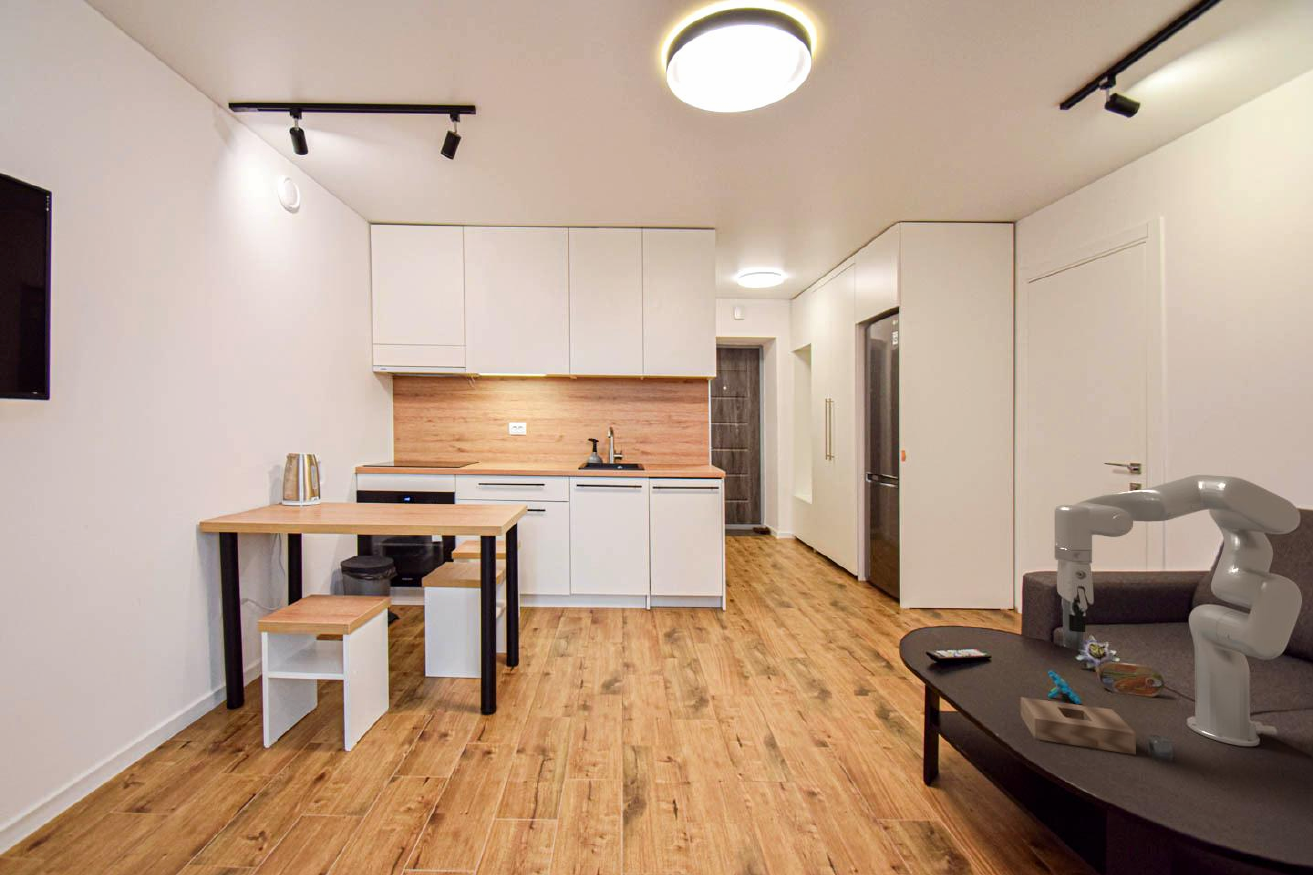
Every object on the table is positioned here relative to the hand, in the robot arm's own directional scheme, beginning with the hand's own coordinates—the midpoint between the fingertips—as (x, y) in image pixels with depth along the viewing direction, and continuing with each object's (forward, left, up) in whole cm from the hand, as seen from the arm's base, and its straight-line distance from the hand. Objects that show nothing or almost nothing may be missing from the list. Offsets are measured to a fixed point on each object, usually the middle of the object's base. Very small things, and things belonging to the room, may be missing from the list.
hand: (1073, 627), depth 136 cm
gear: (-4, -21, -27) cm, 35 cm away
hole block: (0, 0, -26) cm, 26 cm away
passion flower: (-22, -51, -27) cm, 62 cm away
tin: (-24, -33, -27) cm, 49 cm away
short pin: (-15, +5, -27) cm, 31 cm away
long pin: (0, 0, -5) cm, 5 cm away
